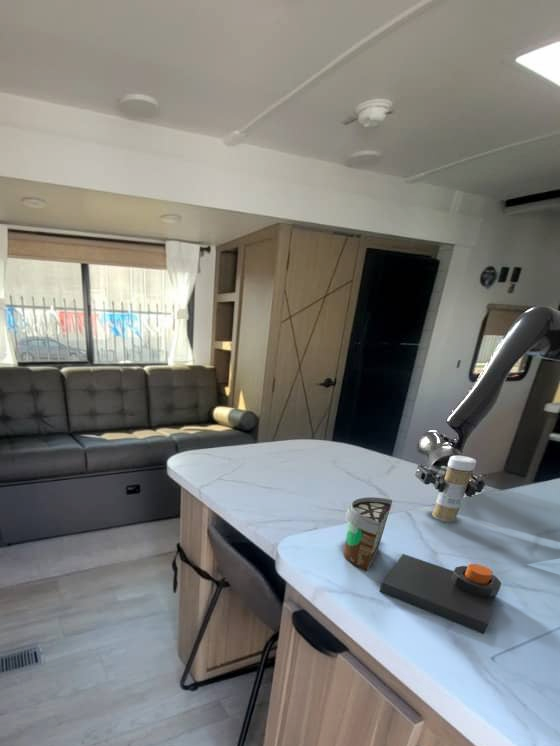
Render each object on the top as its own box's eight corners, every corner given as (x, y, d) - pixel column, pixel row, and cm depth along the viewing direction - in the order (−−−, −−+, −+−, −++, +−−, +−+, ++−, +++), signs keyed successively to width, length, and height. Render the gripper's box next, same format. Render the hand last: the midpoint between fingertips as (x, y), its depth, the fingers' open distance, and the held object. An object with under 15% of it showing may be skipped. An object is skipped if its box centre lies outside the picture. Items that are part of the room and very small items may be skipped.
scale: (494, 594, 65) (503, 576, 64) (484, 634, 56) (493, 615, 55) (400, 561, 73) (406, 544, 72) (379, 592, 65) (384, 574, 63)
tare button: (489, 578, 64) (494, 569, 63) (487, 587, 61) (491, 577, 61) (466, 570, 65) (469, 561, 65) (462, 578, 63) (466, 569, 62)
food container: (346, 536, 81) (357, 490, 77) (379, 546, 78) (393, 499, 74) (328, 563, 72) (339, 512, 68) (364, 575, 69) (379, 523, 64)
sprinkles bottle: (454, 516, 88) (475, 457, 82) (456, 524, 85) (478, 463, 79) (430, 511, 90) (449, 453, 84) (431, 519, 87) (451, 459, 81)
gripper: (417, 446, 97) (422, 466, 83) (488, 454, 92) (506, 479, 78) (408, 475, 100) (411, 500, 86) (476, 485, 95) (492, 514, 81)
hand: (456, 490), depth 82 cm, fingers closed on sprinkles bottle, 4 cm apart
